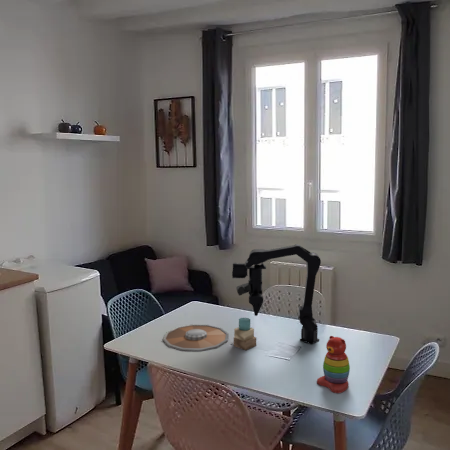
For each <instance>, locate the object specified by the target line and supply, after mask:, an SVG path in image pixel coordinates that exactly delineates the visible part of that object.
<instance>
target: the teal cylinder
mask: <svg viewBox="0 0 450 450" xmlns="http://www.w3.org/2000/svg"><path fill="white" fill-rule="evenodd" d="M238 327H239V329H240V330H244V331H246V330H250V328H251V318H249V317H239V319H238Z"/></svg>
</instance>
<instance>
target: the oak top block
mask: <svg viewBox="0 0 450 450" xmlns="http://www.w3.org/2000/svg"><path fill="white" fill-rule="evenodd" d="M233 330H234V332H233V333H234V334H233V335H234V337H233V339H234V338H237V339H239V340H242V341H247V340H249V339H252V338H254V337H255V328H253V327H250V330H246V331H244V330H240V329H239V326H238V327H236V328H234V329H233Z"/></svg>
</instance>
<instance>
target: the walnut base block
mask: <svg viewBox="0 0 450 450" xmlns="http://www.w3.org/2000/svg"><path fill="white" fill-rule="evenodd" d="M233 347H236V348H239V349H241V350H243V351H248V350H250V349H252V348H255V347H257V337H256V336H254V338H252V339H249V340H247V341H242V340H239V339H237V338H234V337H233Z"/></svg>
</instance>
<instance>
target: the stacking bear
mask: <svg viewBox="0 0 450 450" xmlns="http://www.w3.org/2000/svg"><path fill="white" fill-rule="evenodd" d="M326 350H327V352H326V354H325V356H324V359H323V365H322V367H323V368H322V370H323V375H321V376H320V377H318V378H317V380H316V384H317V385H319V386H321V387H326V388H328V389H329V390H330V392H332V393H334V394H340V393H344V392H345V391H346V390H348V388H349V385H350V384H349V381H348V380H349V375H350V371H351V370H350V369H351V366H350V361H349V357H348V355H347V354H346V350H347V344H346V340H345V339H343V338H342V337H339V336H335V337H334V335H330V336H329V339H328V341H327V342H326Z"/></svg>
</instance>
